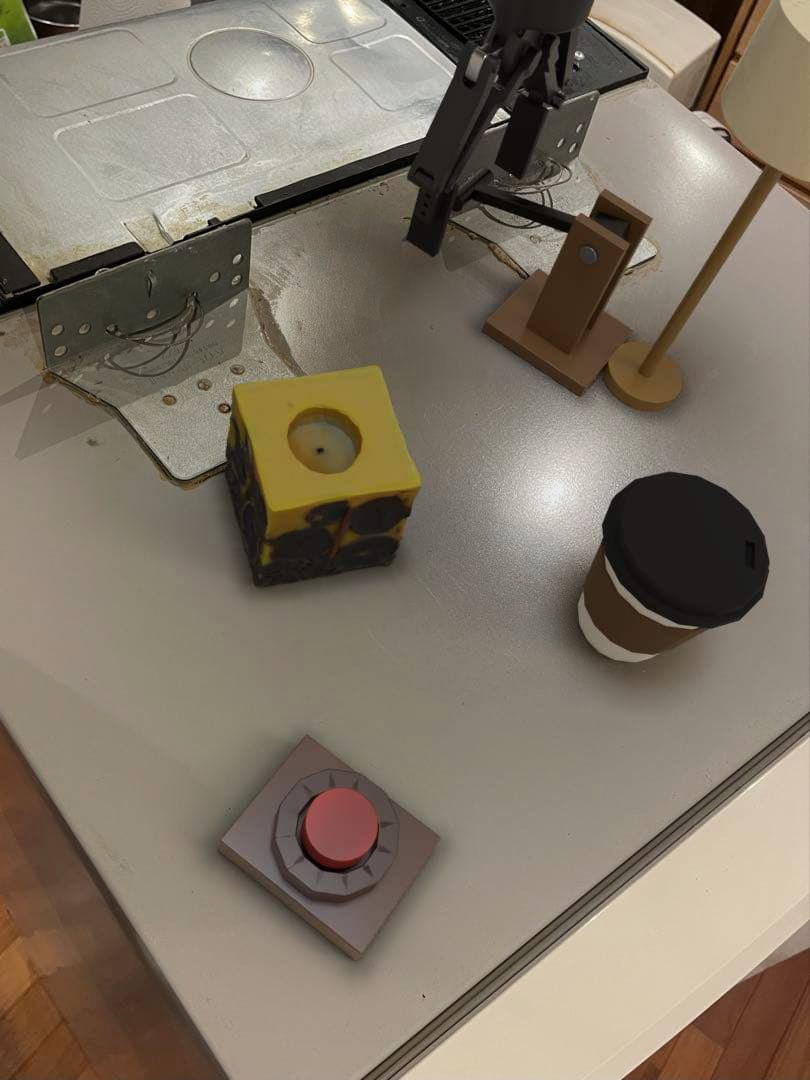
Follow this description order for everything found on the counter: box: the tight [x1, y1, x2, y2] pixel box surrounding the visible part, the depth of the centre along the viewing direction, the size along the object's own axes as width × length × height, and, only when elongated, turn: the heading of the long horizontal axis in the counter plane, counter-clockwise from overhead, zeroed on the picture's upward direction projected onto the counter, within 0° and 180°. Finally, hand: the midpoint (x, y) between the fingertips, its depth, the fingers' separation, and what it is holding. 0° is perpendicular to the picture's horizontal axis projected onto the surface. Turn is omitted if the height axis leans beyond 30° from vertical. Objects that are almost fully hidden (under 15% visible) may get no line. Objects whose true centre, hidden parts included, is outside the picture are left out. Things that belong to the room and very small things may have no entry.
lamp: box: [602, 0, 810, 412], centre depth 71 cm, size 11×11×32 cm
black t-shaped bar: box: [452, 167, 631, 241], centre depth 77 cm, size 14×5×2 cm, turn 55°
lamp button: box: [301, 788, 378, 869], centre depth 54 cm, size 4×4×2 cm
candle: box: [224, 364, 423, 587], centre depth 66 cm, size 10×10×10 cm
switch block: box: [217, 734, 442, 961], centre depth 57 cm, size 10×8×4 cm
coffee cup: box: [577, 470, 771, 663], centre depth 66 cm, size 11×11×12 cm
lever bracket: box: [481, 188, 654, 398], centre depth 79 cm, size 10×9×13 cm
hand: (467, 207), depth 81 cm, fingers open, 13 cm apart
